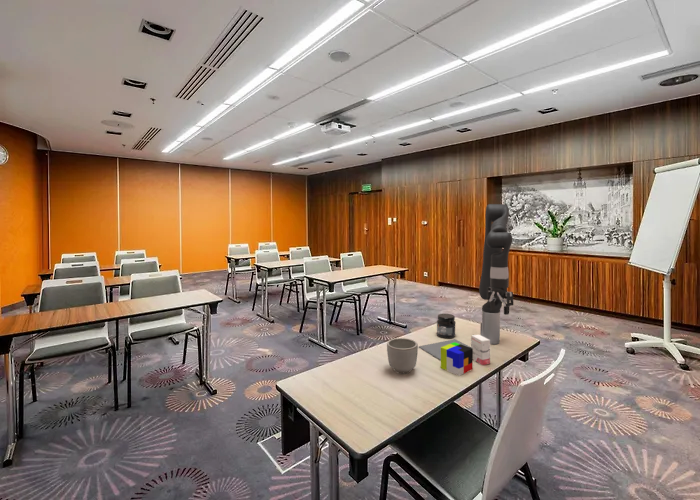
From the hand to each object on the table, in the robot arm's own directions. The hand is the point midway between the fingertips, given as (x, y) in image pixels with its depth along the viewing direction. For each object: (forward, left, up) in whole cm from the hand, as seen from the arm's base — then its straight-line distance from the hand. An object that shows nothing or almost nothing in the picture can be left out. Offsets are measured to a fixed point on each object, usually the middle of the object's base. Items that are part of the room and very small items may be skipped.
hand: (499, 312), depth 155 cm
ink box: (-9, -2, -26) cm, 28 cm away
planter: (-16, -41, -26) cm, 52 cm away
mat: (-25, -7, -26) cm, 37 cm away
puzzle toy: (-7, -18, -26) cm, 33 cm away
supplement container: (-44, +5, -26) cm, 51 cm away
